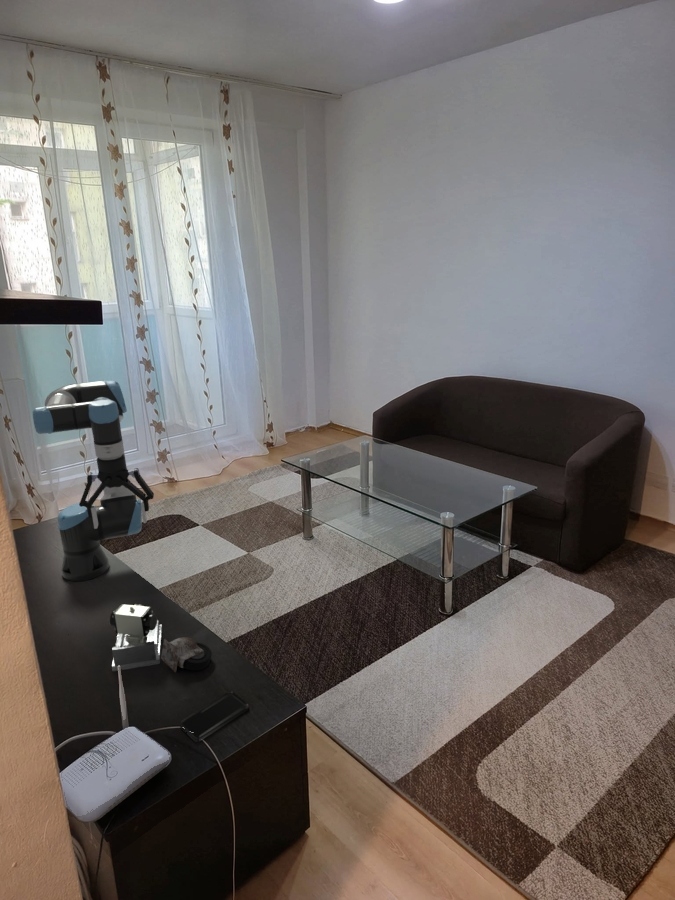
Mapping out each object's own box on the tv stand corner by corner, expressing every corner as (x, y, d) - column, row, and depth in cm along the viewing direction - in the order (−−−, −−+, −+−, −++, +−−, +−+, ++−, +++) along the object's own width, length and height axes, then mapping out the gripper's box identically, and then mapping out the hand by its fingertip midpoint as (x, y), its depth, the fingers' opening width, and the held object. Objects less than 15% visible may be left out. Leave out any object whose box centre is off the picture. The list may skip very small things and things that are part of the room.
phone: (250, 705, 148) (196, 740, 138) (250, 709, 148) (196, 744, 139) (230, 689, 153) (177, 722, 143) (231, 693, 154) (178, 726, 144)
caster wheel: (215, 668, 166) (184, 684, 158) (189, 645, 172) (158, 659, 164) (219, 649, 164) (188, 663, 156) (192, 625, 170) (162, 638, 162)
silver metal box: (119, 635, 177) (115, 615, 175) (162, 628, 179) (159, 609, 177) (112, 671, 162) (109, 650, 160) (159, 663, 164) (156, 643, 162)
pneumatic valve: (152, 651, 167) (147, 613, 163) (113, 647, 169) (107, 609, 165) (162, 639, 172) (157, 602, 168) (123, 634, 174) (117, 598, 170)
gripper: (60, 464, 167) (73, 534, 174) (155, 455, 172) (164, 524, 179) (65, 455, 174) (77, 523, 181) (157, 447, 179) (165, 513, 186)
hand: (121, 523), depth 180 cm, fingers open, 13 cm apart
